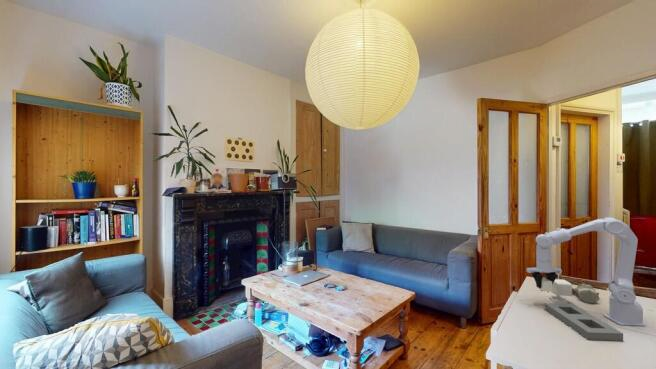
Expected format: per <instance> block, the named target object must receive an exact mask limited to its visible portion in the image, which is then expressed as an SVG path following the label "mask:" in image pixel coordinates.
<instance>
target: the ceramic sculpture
mask: <svg viewBox="0 0 656 369" xmlns="http://www.w3.org/2000/svg"><path fill="white" fill-rule="evenodd" d="M572 294H575V295H578V298H579V299H580V300H581V301H583V302H585V303H587V304H595V303H597V302H598V301H599V298H600V296H599V294H600V293H599V292H597V291H596V289H595V288H594V287H593V286H592V285H591V284H589V283H588V282H584V283H578V285H577V287H576V288H575V287H572Z"/></svg>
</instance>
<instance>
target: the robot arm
mask: <svg viewBox="0 0 656 369" xmlns="http://www.w3.org/2000/svg"><path fill="white" fill-rule="evenodd" d="M605 231H606V232H607V233H609V234H610V235H612V236H614V237H615V238H616V239H617V240H618V241H619V242H618V250H617V257H616V262H615V271H614V276H613V277H612V280H611V282H609V284H608V286H607V289H608V290H609V292H610V293H611V294H610V295H609V296H608V297H609V298H608V300H609V301H608V303H609V306H608V308H609V311H608V312H609V313H608V314H605V313H604V314H603V316H604V317H606V318H607V319H609V320H611V321H613V322H614V323H616V324H618V325H620V326H639V327H640V326H644V327H645V326H646V323H645V324H644V309H643V307H642V305H641V304H640V302H639V301H637V297H636V293H635V292H634V289H635V286H634V283H633V276H634V275H633V274H634V270H635V269H634V268H635V262H636V255H637V250H638V249H637V248H638V240H639V239H638V237H637V235H635V233H634V232H633V230H632V229H631V228H630V225H628V224H627V223H625V222H624V221H623V220H619V219H617V218H616V217H613V216H605V217H603V218H598V219H594V220H591V221H588V222H585V223H583V224H580V225H577V226H574V227H572V228H569V229H566V228H560V227H558V228H557V227H556V230H553V231H549V232H546V231H545V232H544V234H542V233H541V234H538V235H537V236H536V237H535V243H536V246H535V247H536V249H535V253H536V254H535V258H536V260H535V262H536V266H535V267H526V273H528V274H531V275H532V276H533V278H534V281H535V286H536V285H537V288H538V289H539V288H541V282H542V278H544V276H543V275H542V274H545V278H546V279H548V280H550V281H552V285H553V283H554V281H555V279H557V278H558V277H559V276H558V275H559V274H562V272H563V270H562V269H561V268H559V267H557V268H556V267H552V266H553V265H552V249H551V247H552V246H553V245H558V244H561V243H564V242H567V241H570V240H571V239H572V237H575V236H577V235H583V234H585V233H590V232H601V233H605Z"/></svg>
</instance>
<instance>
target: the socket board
mask: <svg viewBox="0 0 656 369" xmlns="http://www.w3.org/2000/svg"><path fill="white" fill-rule="evenodd" d="M544 310H545V311H546V312H548V313H549V314H550V315H552V316H553V317H554V318H557V320H559V321H560V320H561V321H560V322H562V323H563V322H564V323H563V324H565V325H566V324H567V325H566V326H568V327H569V328H570V327H571V329H572V330H573V331H575V332H576V333H578V334H579V335H580V336H581V337H583V338H584V339H586V340H587V341H600V342H601V341H604V342H605V341H607V342H624V333H623V332H622V331H620V330H618V329H616V328H615V327H613V326H611V325H609V324H608V323H606V322H604V321H602V320H601V319H599V318H597V317H596V316H594V315H593V314H591V313H589V312H588V311H586V310H584V309H582V308H581V307H579V306H577V305H575V303H568V304H564V303H555V302H553V303H552V302H551V303H550V302H545V303H544Z"/></svg>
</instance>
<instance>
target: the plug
mask: <svg viewBox="0 0 656 369" xmlns="http://www.w3.org/2000/svg"><path fill="white" fill-rule="evenodd" d="M535 287H537V285H536V284H535ZM537 288H538V287H537ZM538 289H539V290H540V291H541V292H547V293H550V292H551V291H552V281H550V280H548V279H546V277H542V282H541V288H538Z"/></svg>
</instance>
